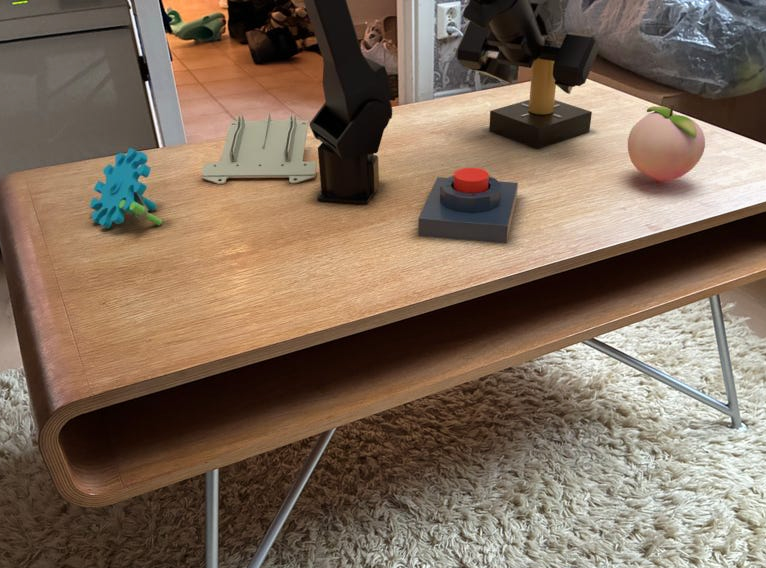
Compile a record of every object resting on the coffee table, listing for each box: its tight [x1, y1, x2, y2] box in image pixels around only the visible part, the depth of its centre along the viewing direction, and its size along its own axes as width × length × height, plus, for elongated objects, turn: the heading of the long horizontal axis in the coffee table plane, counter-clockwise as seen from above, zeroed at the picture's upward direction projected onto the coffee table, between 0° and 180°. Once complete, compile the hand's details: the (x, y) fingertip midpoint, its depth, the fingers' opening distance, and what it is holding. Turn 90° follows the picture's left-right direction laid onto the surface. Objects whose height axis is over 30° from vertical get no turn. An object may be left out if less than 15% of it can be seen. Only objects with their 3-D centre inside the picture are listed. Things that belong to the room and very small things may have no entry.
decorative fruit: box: [627, 103, 706, 184], centre depth 94 cm, size 9×8×10 cm
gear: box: [89, 147, 163, 229], centre depth 91 cm, size 11×6×10 cm
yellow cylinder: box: [528, 59, 557, 115], centre depth 109 cm, size 4×4×8 cm
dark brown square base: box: [488, 99, 593, 150], centre depth 113 cm, size 11×10×3 cm
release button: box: [453, 167, 490, 194], centre depth 88 cm, size 4×4×2 cm
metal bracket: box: [201, 111, 318, 185], centre depth 104 cm, size 14×6×15 cm
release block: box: [417, 174, 519, 244], centre depth 89 cm, size 12×10×4 cm
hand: (540, 85), depth 109 cm, fingers open, 9 cm apart
